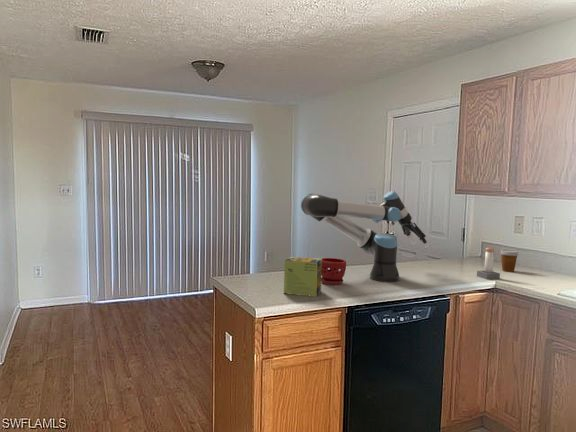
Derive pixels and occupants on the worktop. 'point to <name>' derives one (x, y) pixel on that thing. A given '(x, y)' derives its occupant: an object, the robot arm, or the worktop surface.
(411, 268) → the worktop surface
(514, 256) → the disposable coffee cup
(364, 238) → the robot arm
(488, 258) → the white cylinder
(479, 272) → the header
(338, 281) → the plant pot
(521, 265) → the worktop surface
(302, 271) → the protein box
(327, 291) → the worktop surface
